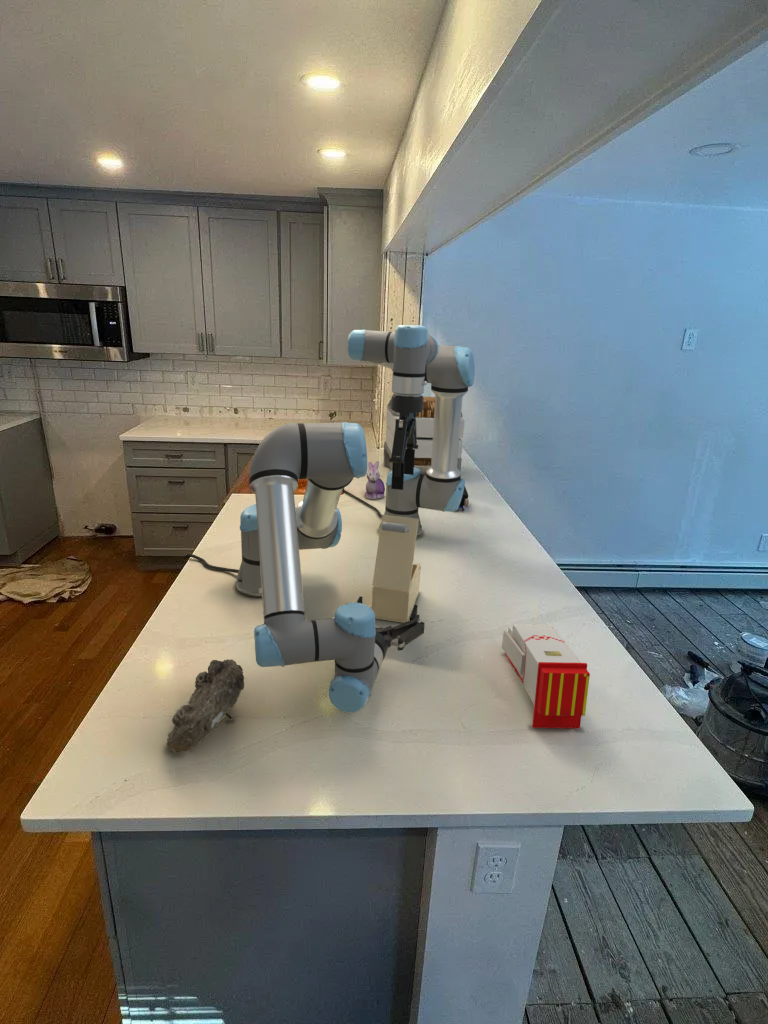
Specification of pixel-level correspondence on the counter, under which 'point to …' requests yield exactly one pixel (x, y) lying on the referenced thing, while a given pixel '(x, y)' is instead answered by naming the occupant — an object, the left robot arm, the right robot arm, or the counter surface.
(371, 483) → the figurine
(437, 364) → the right robot arm
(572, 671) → the toy
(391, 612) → the chest
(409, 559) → the lid
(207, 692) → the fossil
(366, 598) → the counter surface
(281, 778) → the counter surface
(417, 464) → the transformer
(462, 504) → the figurine character
